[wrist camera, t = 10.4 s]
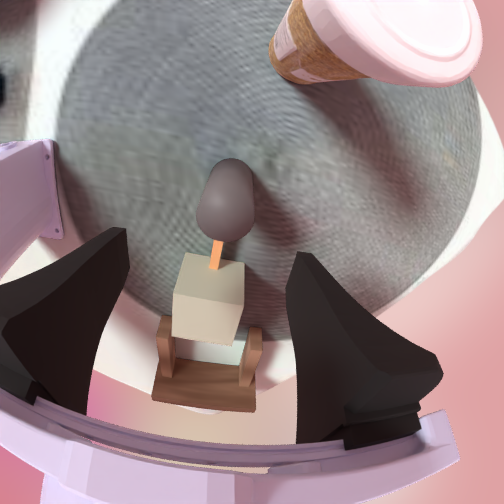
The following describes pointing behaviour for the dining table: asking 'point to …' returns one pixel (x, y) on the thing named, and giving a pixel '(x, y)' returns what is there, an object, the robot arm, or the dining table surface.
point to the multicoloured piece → (216, 259)
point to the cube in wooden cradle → (206, 376)
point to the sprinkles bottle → (378, 41)
